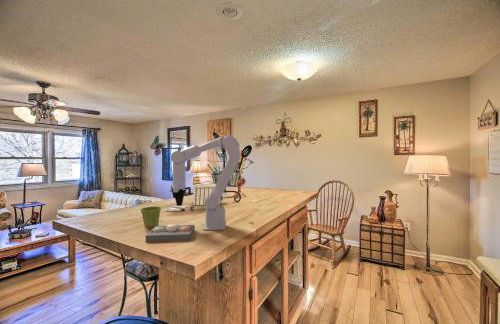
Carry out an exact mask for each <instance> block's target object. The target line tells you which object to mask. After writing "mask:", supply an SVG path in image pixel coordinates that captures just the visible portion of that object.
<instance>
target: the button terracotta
mask: <svg viewBox="0 0 500 324" xmlns="http://www.w3.org/2000/svg"><path fill="white" fill-rule="evenodd" d="M186 231H190V226H182V227H180V232H186Z"/></svg>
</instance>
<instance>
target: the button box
mask: <svg viewBox="0 0 500 324" xmlns="http://www.w3.org/2000/svg"><path fill="white" fill-rule="evenodd" d="M167 225H168V224H166V225H158V226H155V227H164V231H163V232H153V228H151V230H150V231H149V232H147V234H146V235H145V243H152V242H153V243H159V242H183V241H185V242H186V241H189V242H190V241H191V240H192V238H193V235H194V233H195V232H196V226H195V225H196V224H177V232H167ZM182 226H190V231H186V232H180V227H182ZM155 227H154V228H155Z"/></svg>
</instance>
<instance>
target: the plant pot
mask: <svg viewBox="0 0 500 324" xmlns="http://www.w3.org/2000/svg"><path fill="white" fill-rule="evenodd" d="M161 210H162V206H156V205H155V206H146V207H142V208H140V210H139V211H140V214H141V215H142V219H143V227H144V228H146V229H152V228H155V226H159V224H160V223H159V221H160V213H161Z"/></svg>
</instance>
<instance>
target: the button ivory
mask: <svg viewBox="0 0 500 324" xmlns="http://www.w3.org/2000/svg"><path fill="white" fill-rule="evenodd" d="M166 225H167V232H177V225H178V224H176V223H170V224H166Z"/></svg>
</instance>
